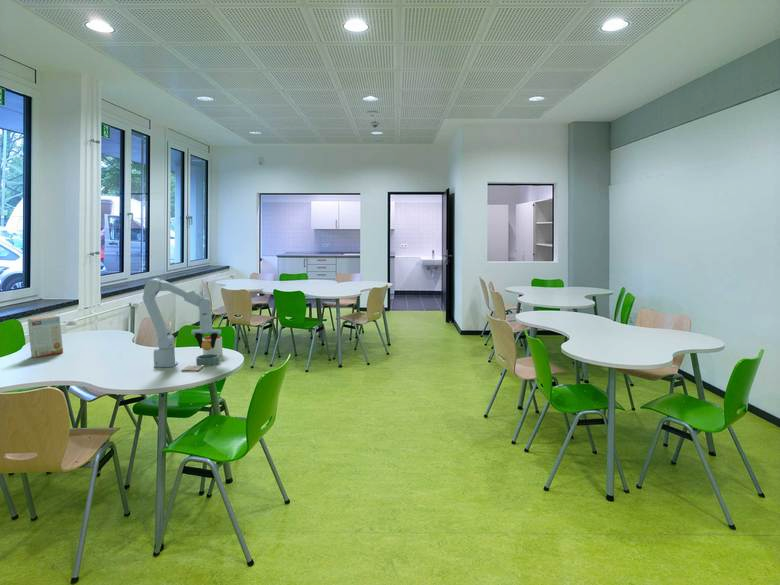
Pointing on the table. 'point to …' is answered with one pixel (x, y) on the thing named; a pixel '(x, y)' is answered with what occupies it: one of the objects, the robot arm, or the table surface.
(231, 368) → the table surface
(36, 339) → the cracker box
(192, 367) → the pad
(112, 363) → the table surface
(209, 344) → the ball
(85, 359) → the table surface
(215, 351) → the cup
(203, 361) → the bowl
